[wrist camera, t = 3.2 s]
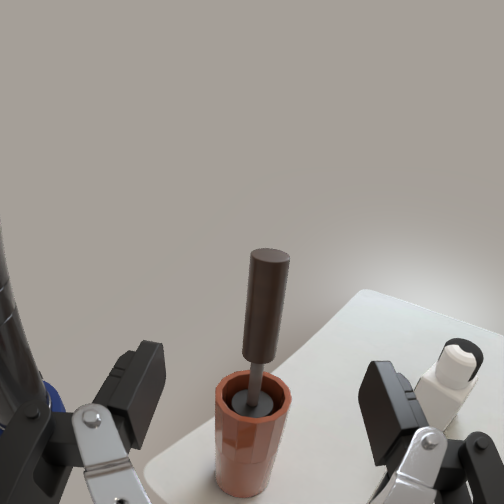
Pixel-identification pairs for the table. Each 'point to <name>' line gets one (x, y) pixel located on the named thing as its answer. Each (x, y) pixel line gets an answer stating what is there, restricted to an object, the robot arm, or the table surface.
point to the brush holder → (248, 435)
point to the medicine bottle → (449, 382)
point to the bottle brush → (261, 326)
